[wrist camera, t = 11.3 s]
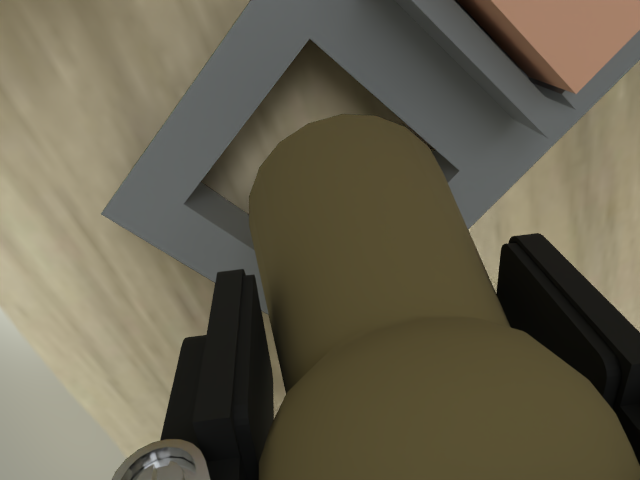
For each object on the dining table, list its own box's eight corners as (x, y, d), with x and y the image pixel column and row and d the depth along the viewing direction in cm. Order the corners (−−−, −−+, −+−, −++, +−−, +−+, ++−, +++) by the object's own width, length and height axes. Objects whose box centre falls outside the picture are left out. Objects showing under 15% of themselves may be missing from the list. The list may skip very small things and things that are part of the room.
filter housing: (500, -356, 15) (611, -513, 10) (696, -59, 20) (840, -72, 15) (120, 185, 22) (79, 244, 17) (331, 319, 26) (346, 396, 21)
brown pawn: (444, 283, 17) (679, 709, 7) (263, 306, 17) (258, 777, 7) (450, 101, 14) (859, 413, 4) (231, 127, 14) (145, 513, 4)
